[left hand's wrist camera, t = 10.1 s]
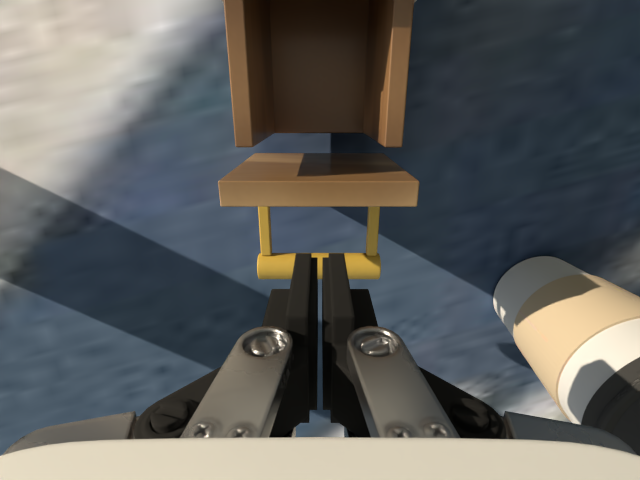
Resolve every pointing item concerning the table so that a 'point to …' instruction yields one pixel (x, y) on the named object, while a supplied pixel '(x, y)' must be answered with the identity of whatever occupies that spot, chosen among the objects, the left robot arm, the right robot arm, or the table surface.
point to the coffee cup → (577, 341)
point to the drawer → (318, 112)
